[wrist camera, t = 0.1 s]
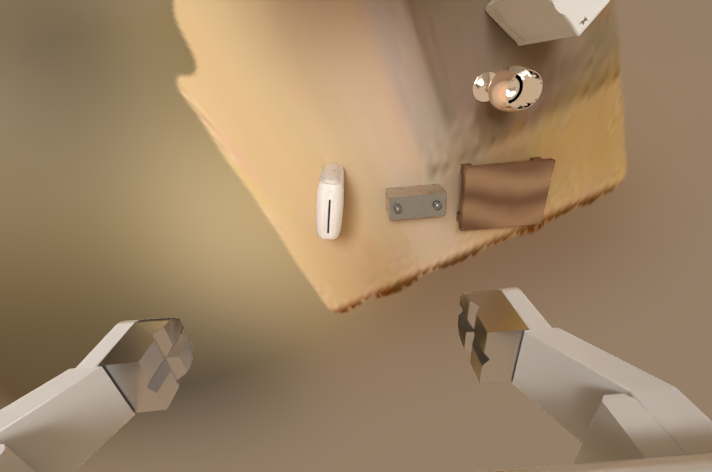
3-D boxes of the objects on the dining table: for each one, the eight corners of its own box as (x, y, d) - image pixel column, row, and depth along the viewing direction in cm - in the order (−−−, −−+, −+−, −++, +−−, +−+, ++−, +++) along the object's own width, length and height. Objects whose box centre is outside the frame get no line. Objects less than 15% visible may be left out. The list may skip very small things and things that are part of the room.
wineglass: (462, 100, 51) (493, 107, 40) (477, 62, 48) (515, 58, 37) (493, 110, 51) (532, 119, 41) (510, 73, 49) (556, 72, 38)
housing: (385, 188, 57) (389, 199, 52) (438, 183, 57) (447, 194, 52) (386, 209, 60) (390, 222, 54) (437, 205, 59) (446, 217, 54)
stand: (458, 162, 55) (466, 168, 52) (541, 154, 55) (555, 160, 52) (454, 221, 61) (461, 230, 57) (529, 215, 61) (541, 223, 57)
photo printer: (321, 160, 55) (315, 182, 44) (345, 162, 55) (345, 184, 44) (319, 213, 59) (313, 244, 48) (341, 215, 60) (340, 246, 49)
